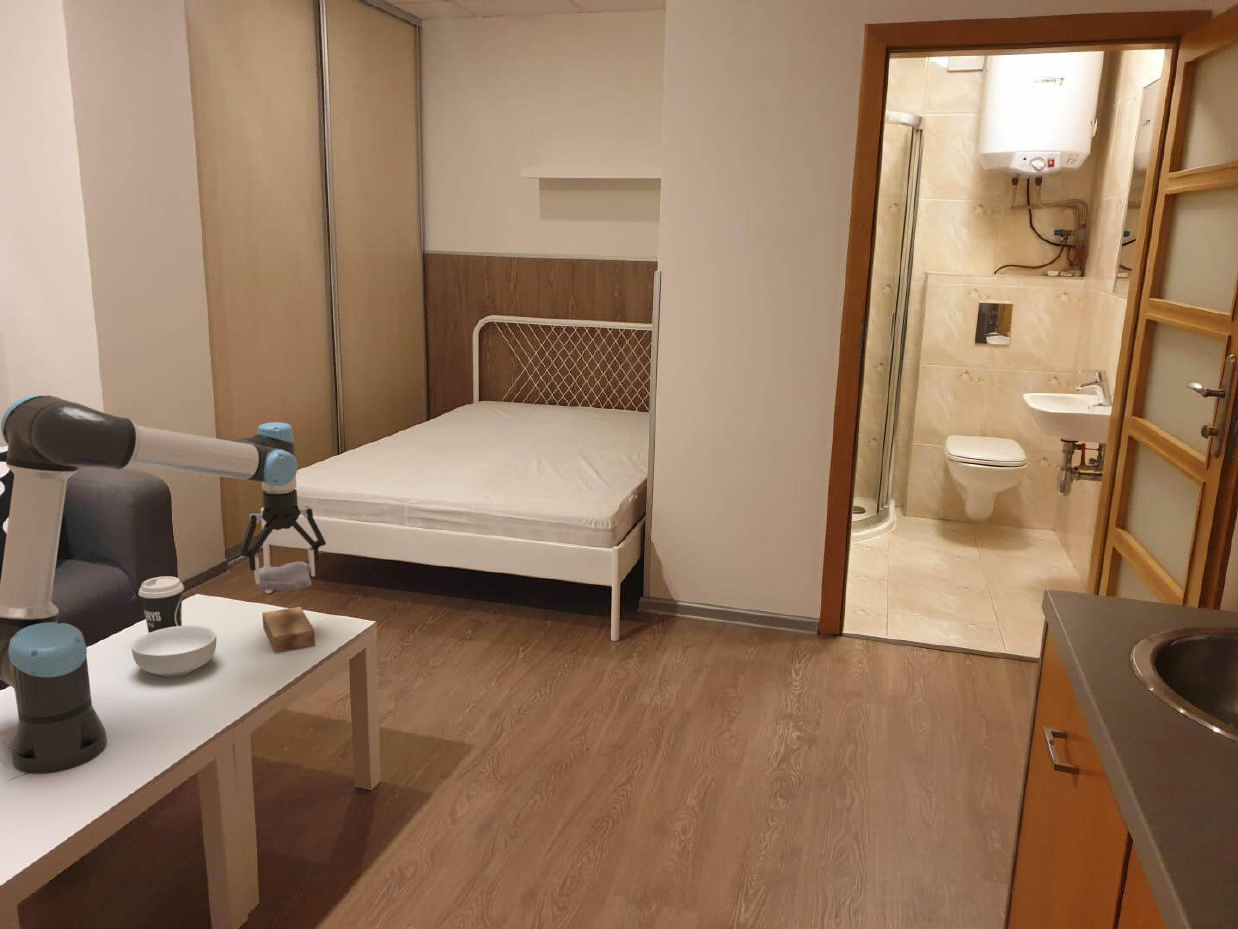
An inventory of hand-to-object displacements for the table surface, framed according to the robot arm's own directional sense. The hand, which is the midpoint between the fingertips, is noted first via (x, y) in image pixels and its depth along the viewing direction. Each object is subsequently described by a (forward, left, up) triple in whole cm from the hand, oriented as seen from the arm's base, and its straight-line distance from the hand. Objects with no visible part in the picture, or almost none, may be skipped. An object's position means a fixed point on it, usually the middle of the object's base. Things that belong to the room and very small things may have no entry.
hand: (285, 578), depth 226 cm
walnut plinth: (0, 0, -15) cm, 15 cm away
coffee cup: (-26, +9, -15) cm, 31 cm away
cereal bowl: (-25, -7, -15) cm, 30 cm away
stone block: (0, +1, -2) cm, 2 cm away
